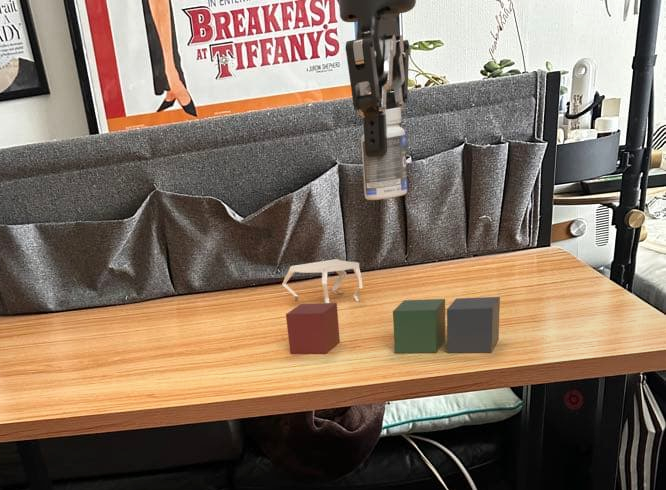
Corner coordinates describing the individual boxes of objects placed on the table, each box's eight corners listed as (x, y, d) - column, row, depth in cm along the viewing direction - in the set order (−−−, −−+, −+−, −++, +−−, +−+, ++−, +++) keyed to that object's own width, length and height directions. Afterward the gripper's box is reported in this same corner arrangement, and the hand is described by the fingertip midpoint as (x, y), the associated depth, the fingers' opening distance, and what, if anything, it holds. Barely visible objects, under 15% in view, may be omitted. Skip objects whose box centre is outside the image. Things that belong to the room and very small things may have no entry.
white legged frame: (368, 289, 105) (366, 253, 102) (363, 302, 98) (361, 264, 95) (287, 296, 107) (283, 262, 105) (277, 310, 100) (272, 273, 98)
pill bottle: (413, 194, 79) (411, 105, 74) (372, 201, 78) (367, 112, 74) (398, 192, 83) (395, 107, 78) (359, 199, 82) (353, 114, 78)
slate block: (498, 339, 75) (499, 296, 73) (491, 352, 72) (492, 307, 70) (455, 340, 77) (456, 298, 75) (446, 352, 74) (446, 309, 72)
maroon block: (339, 341, 83) (336, 302, 80) (326, 353, 79) (323, 313, 77) (304, 342, 84) (300, 303, 82) (290, 353, 81) (285, 314, 79)
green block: (445, 340, 78) (445, 298, 75) (436, 353, 74) (435, 309, 72) (405, 341, 79) (403, 300, 77) (394, 353, 76) (392, 310, 74)
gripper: (391, -64, 63) (399, 156, 71) (432, -45, 74) (435, 143, 82) (311, -43, 66) (328, 165, 75) (362, -28, 77) (371, 151, 85)
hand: (384, 152), depth 78 cm, fingers closed on pill bottle, 4 cm apart
